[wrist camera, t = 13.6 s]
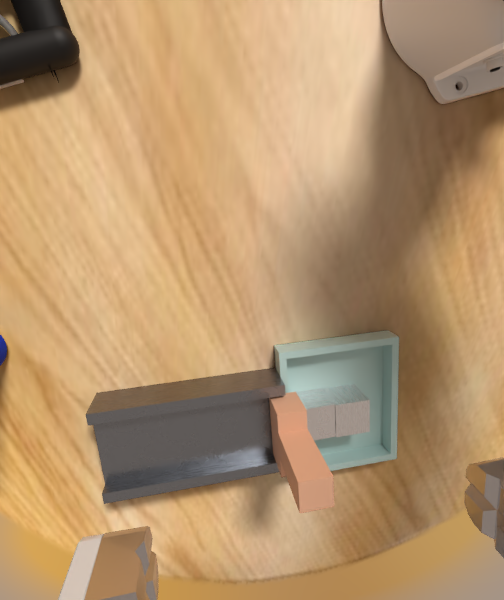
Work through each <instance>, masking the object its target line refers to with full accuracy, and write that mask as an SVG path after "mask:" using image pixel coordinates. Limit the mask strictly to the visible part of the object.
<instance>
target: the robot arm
mask: <svg viewBox="0 0 504 600" xmlns="http://www.w3.org/2000/svg"><path fill="white" fill-rule="evenodd" d="M382 9H383V17H384V22H385V26H386V30H387V33H388V36H389V38H390V41H391V43H392V45H393V47H394V49H395V50H396V52H397V53H398V55H399V56H400V57H401V59H402V60H403V61H404V62H405V63H406V64H407V65H408V66H409V67H410V68H411V69H413V70H414V71H415V72H416V73H418V74H419V75H420V76H421V77H422V78H423V79H424V80H425V82H426V84H427V86H428V88H429V90H430V92H431V93H432V95H433V97H434V98H435V99H436V100H437V101H438V102H439V103H441V104H447V103H451V102H454V101H458V100H461V99H465V98H469V97H472V96H476V95H480V94H483V93H487V92H490V91H494V90H498V89H501V88H504V0H382ZM456 84H457V85H458V90H457V89H456ZM466 478H467V479H468V481H469V482H470V483H471V484H470V485H469V487H468V488H467V490H466V491H465V505H466V508H467V512H468V515H469V516H470V518H471V520H472V521H473V523H474V524H475V526H476V527H477V528H478V529H479V530H480V531H481V533H484V534H485V535H487V536H489V537H491V538H493V539H494V542H495V548H496V550H497V551H498V552H499V553H500V554H501V556H502V557H503V558H504V458H497V459H492V460H488V461H483V462H478V463H473V464H469V466H468V467H467V469H466ZM151 547H152V534H151V530H150V527H148V526H145V527H139V528H133V529H127V530H121V531H115V532H109V533H105V534H101V535H94V536H88V537H83V538H82V539H81V540H80V542H79V543H78V544H77V547H76V550H75V553H74V556H73V559H72V561H71V564H70V567H69V570H68V573H67V575H66V578H65V581H64V584H63V587H62V589H61V592H60V595H59V598H58V600H157V598H158V565H157V559H156V554H155V553H154V552H152V551H151Z"/></svg>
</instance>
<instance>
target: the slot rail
mask: <svg viewBox="0 0 504 600" xmlns="http://www.w3.org/2000/svg"><path fill="white" fill-rule="evenodd" d="M285 395H286V394H285V384H284V382H283V381H282V379H281V377H280V375H279V373H278V371H277V370H276V368H271V369H264V370H256V371H249V372H242V373H235V374H228V375H221V376H214V377H207V378H200V379H193V380H186V381H179V382H172V383H164V384H157V385H150V386H143V387H136V388H129V389H122V390H115V391H108V392H101V393H97V394H96V396H95V398H94V399H93V401H92V403H91V405H90V407H89V409H88V411H87V413H86V418H87V423H88V425H93V426H94V430H95V435H96V440H97V445H98V450H99V455H100V460H101V465H102V470H103V475H104V480H105V486H104V490H103V493H102V496H103V501H104V504H105V503H111V502H116V501H122V500H127V499H133V498H138V497H144V496H149V495H155V494H160V493H166V492H171V491H177V490H182V489H188V488H194V487H199V486H205V485H210V484H216V483H221V482H227V481H232V480H238V479H243V478H249V477H254V476H260V475H265V474H271V473H276V472H279V469H278V466H277V463H276V460H275V457H274V454H273V445H272V431H271V417H270V404H269V398H271V397H278V396H285Z"/></svg>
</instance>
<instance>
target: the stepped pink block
mask: <svg viewBox="0 0 504 600" xmlns="http://www.w3.org/2000/svg"><path fill="white" fill-rule="evenodd" d="M285 394H286V395H285V396H278V397H271V398H269V404H270V417H271V431H272V445H273V454H274V457H275V460H276V463H277V466H278V469H279V472H280V475H281V477H287V480H288V482H289V485H290V488H291V490H292V493H293V496H294V499H295V501H296V504H297V507H298V510H299V512H300V513H304V512H309V511H314V510H319V509H324V508H329V507H334V482H333V475H332V473H331V471H330V469H329V467H328V466H327V464H326V462H325V460H324V458H323V456H322V455H321V453H320V451H319V449H318V447H317V445H316V444H315V442H314V440H313V438H312V436H311V434H310V432H309V431H308V428H307V410H306V408H305V407H304V405H303V403H302V401H301V400H300V398H299V396H298V395H297V393H296V392H290V393H285Z"/></svg>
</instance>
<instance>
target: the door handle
mask: <svg viewBox="0 0 504 600" xmlns="http://www.w3.org/2000/svg"><path fill="white" fill-rule="evenodd" d="M11 2H12V4H13V7H14V9H15V12H16V14H17V17H18V19H19V22H20V24H21V27H22V29H23V33H19V34H18V33H17V32H16V30H15V29H14V28H13V26H12V25H11V24H10V23H9V22H8V21H7V20H6V19H5V18H4V17H3V16H1V15H0V25H1V26H2V27H4V28H5V29H6V30H7V31H8V33H9V34H10V35H11V36H8V37H5V38H1V39H0V89H2V88H6V87H9V86H13V85H16V84H20V83H23V82H24V80H23V79H24V78H28V77H32V76H35V75H39V74H42V73H46V72H50V71H51V73H52V71H54V73H55V75H56V72H55V70H57V69H60V68H64V67H67V66H71V65H73V64H74V63H75V62H76V61H77V59H78V57H79V45H78V42H77V40H76V38H75V36H74V35H73V34H72V31H71V29H70V26H69V23H68V21H67V18H66V15H65V13H64V10H63V7H62V5H61V2H60V0H11ZM52 75H53V73H52ZM53 77H54V76H53ZM56 77H57V75H56ZM57 80H58V78H57ZM58 82H59V81H58Z"/></svg>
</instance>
